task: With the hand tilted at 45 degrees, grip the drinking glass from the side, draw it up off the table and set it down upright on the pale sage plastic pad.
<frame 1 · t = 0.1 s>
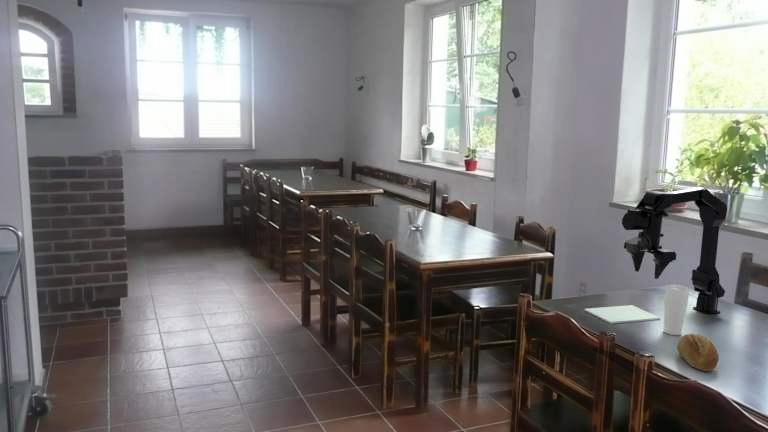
hand: (646, 275, 219), 15 cm above the table, tool pointing down, fingers open, 9 cm apart
bread roll: (695, 364, 182), on the table
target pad: (621, 314, 223), on the table
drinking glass: (671, 333, 206), on the table
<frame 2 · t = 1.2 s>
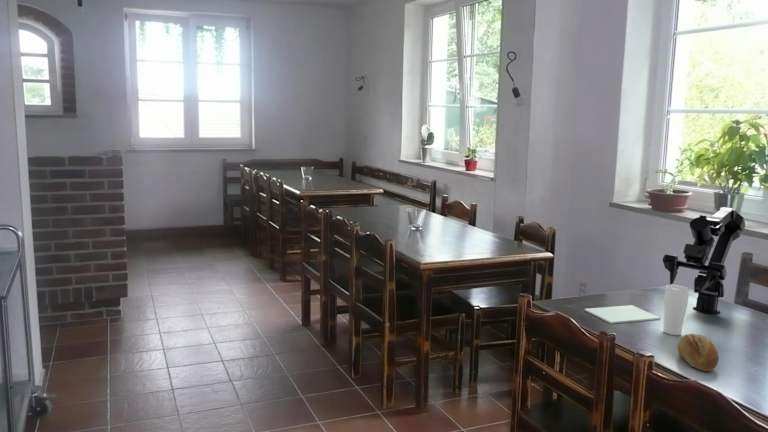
hand: (685, 287, 210), 13 cm above the table, tool tilted 45°, fingers open, 9 cm apart
nothing on the table moved.
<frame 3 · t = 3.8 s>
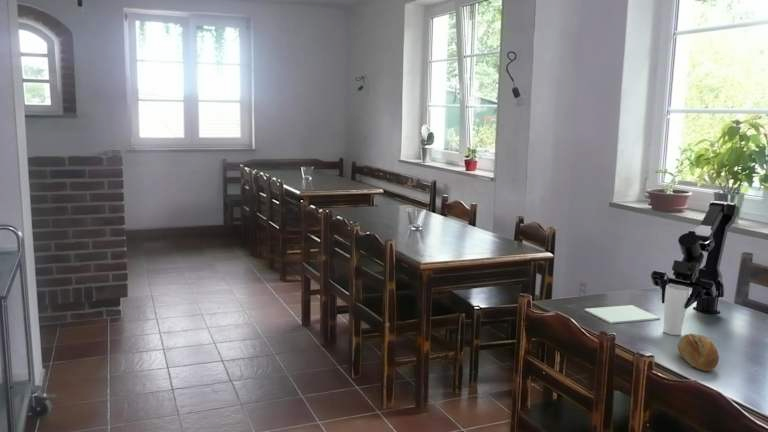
hand: (673, 305, 204), 9 cm above the table, tool tilted 45°, fingers closed on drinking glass, 7 cm apart
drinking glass: (671, 333, 206), on the table, touching gripper
everything else where it was.
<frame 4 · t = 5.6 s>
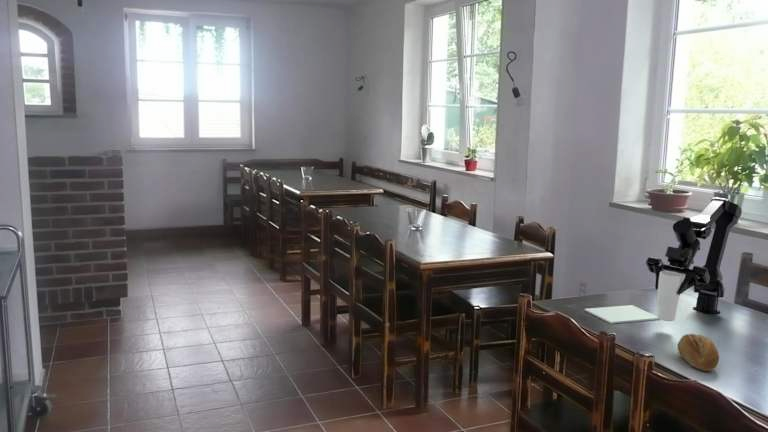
hand: (667, 291, 205), 13 cm above the table, tool tilted 45°, fingers closed on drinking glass, 7 cm apart
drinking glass: (665, 319, 207), point 4 cm above the table, touching gripper
everything else where it was.
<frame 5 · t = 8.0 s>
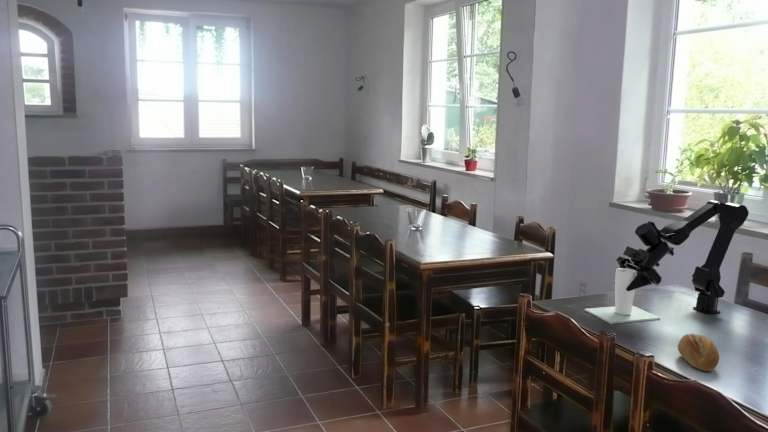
hand: (620, 287, 220), 10 cm above the table, tool tilted 45°, fingers closed on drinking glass, 6 cm apart
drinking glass: (622, 313, 222), resting on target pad, touching gripper
everything else where it was.
when the fingers open (9 cm above the table, at t = 9.0 s): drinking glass stays where it is, resting on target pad.
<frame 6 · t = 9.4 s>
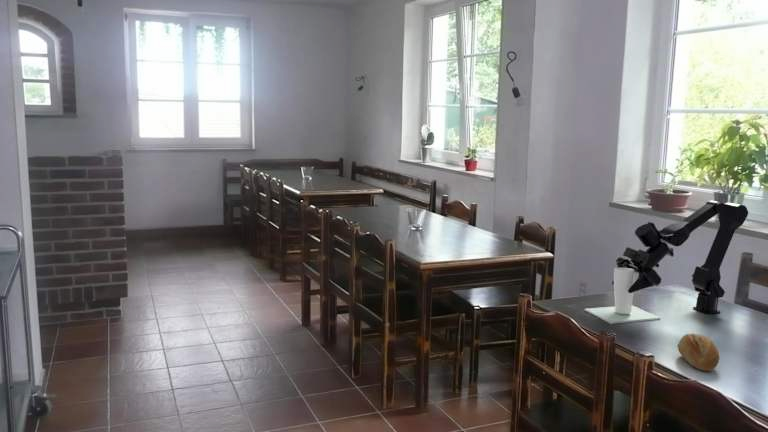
hand: (620, 288, 220), 9 cm above the table, tool tilted 45°, fingers open, 9 cm apart
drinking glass: (623, 313, 222), point 1 cm above the table, touching gripper, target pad
everything else where it was.
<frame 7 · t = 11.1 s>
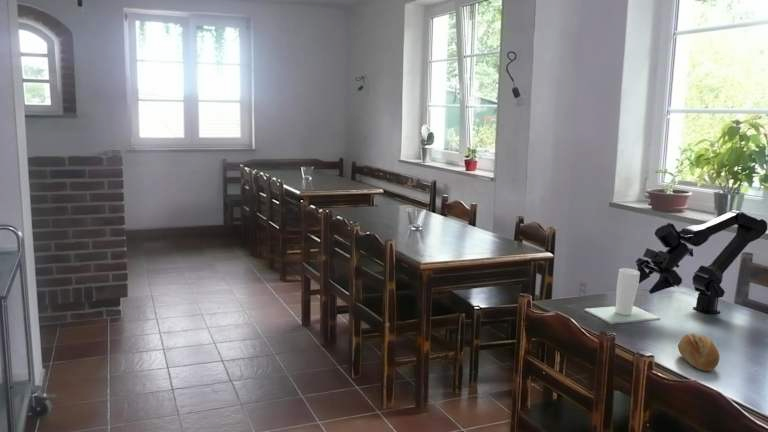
hand: (641, 289, 223), 9 cm above the table, tool tilted 45°, fingers open, 9 cm apart
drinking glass: (622, 313, 222), point 1 cm above the table, touching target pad
everything else where it was.
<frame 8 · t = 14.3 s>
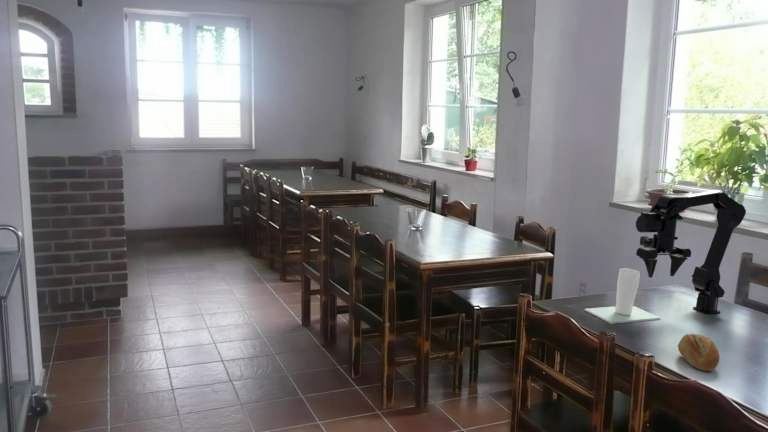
hand: (661, 276, 224), 13 cm above the table, tool pointing down, fingers open, 9 cm apart
nothing on the table moved.
at the end: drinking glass inside the target area on the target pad (0.4 cm from its centre), point 0.5 cm above the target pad's base; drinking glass tilted 1°; the gripper is holding nothing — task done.
